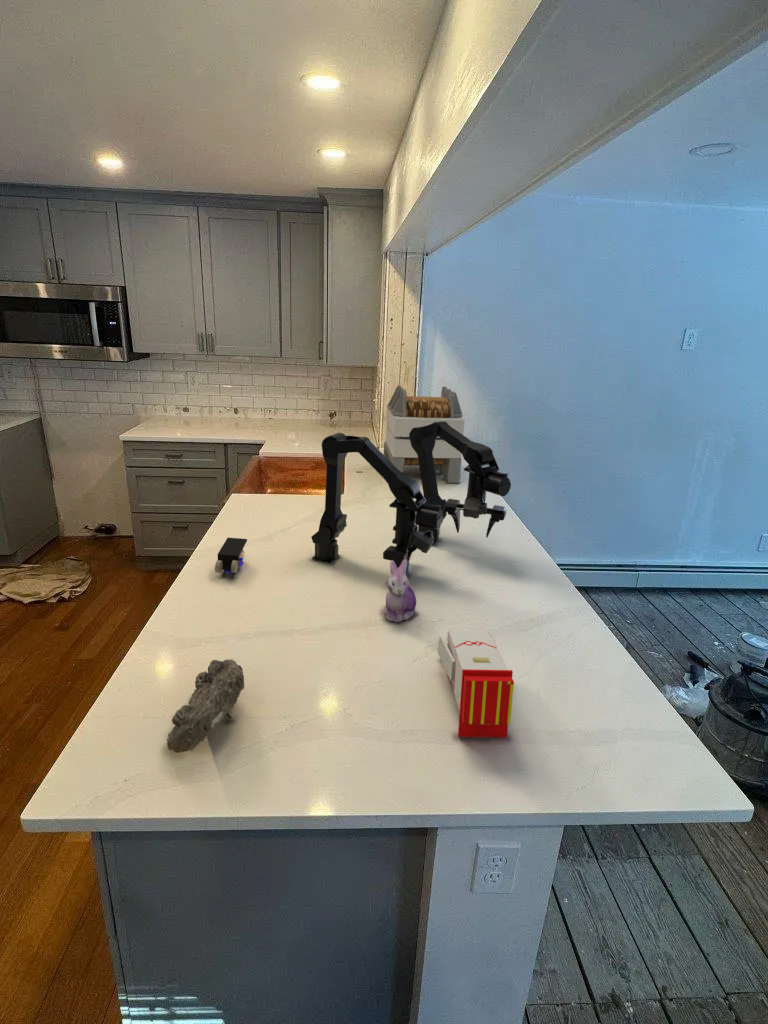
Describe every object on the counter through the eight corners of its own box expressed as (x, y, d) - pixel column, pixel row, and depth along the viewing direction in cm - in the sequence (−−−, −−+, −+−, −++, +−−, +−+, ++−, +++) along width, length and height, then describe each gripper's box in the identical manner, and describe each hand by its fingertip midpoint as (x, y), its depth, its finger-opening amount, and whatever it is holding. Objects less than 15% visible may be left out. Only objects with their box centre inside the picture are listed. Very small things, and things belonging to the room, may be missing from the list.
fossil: (192, 660, 117) (244, 628, 112) (224, 691, 120) (276, 661, 115) (142, 746, 98) (202, 712, 93) (182, 779, 101) (242, 748, 96)
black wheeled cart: (238, 584, 162) (249, 557, 175) (236, 562, 158) (247, 536, 172) (215, 584, 161) (227, 556, 175) (212, 561, 158) (225, 535, 171)
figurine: (392, 627, 141) (395, 572, 136) (374, 608, 149) (376, 556, 144) (425, 619, 145) (429, 566, 140) (405, 601, 154) (408, 550, 149)
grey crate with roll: (382, 463, 289) (386, 382, 275) (445, 464, 293) (451, 384, 279) (390, 482, 257) (394, 392, 243) (460, 483, 261) (468, 394, 247)
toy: (488, 613, 130) (523, 677, 101) (484, 667, 133) (517, 744, 104) (435, 612, 130) (455, 676, 101) (432, 666, 133) (451, 743, 103)
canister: (394, 575, 169) (395, 562, 167) (399, 571, 172) (399, 557, 170) (405, 578, 167) (406, 564, 166) (409, 573, 170) (410, 560, 169)
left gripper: (421, 538, 153) (417, 590, 158) (441, 517, 169) (437, 565, 175) (383, 531, 157) (381, 582, 162) (406, 511, 173) (403, 558, 178)
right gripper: (441, 490, 169) (437, 538, 174) (504, 499, 164) (498, 549, 169) (449, 481, 179) (445, 527, 184) (509, 489, 174) (503, 536, 179)
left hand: (402, 571), depth 169 cm, fingers closed on canister, 3 cm apart
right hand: (472, 534), depth 179 cm, fingers open, 9 cm apart
